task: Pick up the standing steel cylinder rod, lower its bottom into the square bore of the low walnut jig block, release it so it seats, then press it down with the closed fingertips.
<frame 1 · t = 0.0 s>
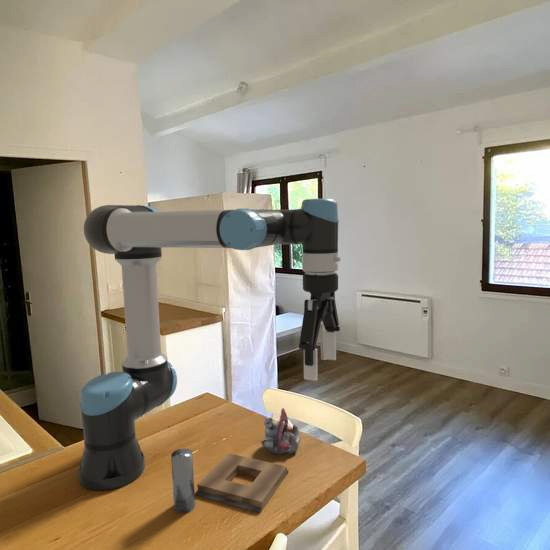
hand: (320, 368, 95), 28 cm above the table, fingers open, 13 cm apart
red and grey figurine: (281, 448, 116), on the table
steel cylinder rod: (184, 506, 93), on the table
jig: (243, 483, 101), on the table
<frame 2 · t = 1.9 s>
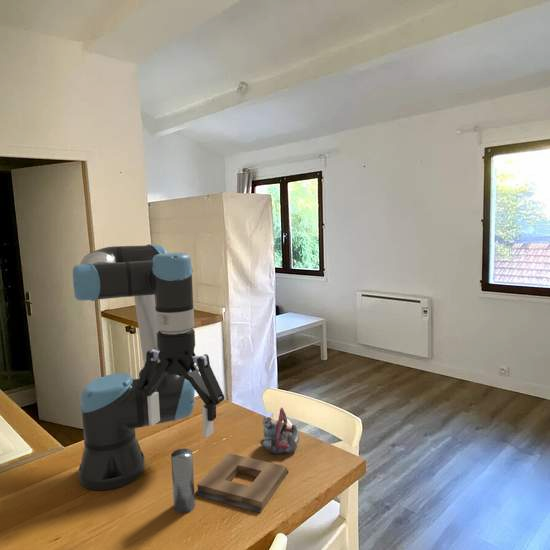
hand: (180, 428, 91), 18 cm above the table, fingers open, 13 cm apart
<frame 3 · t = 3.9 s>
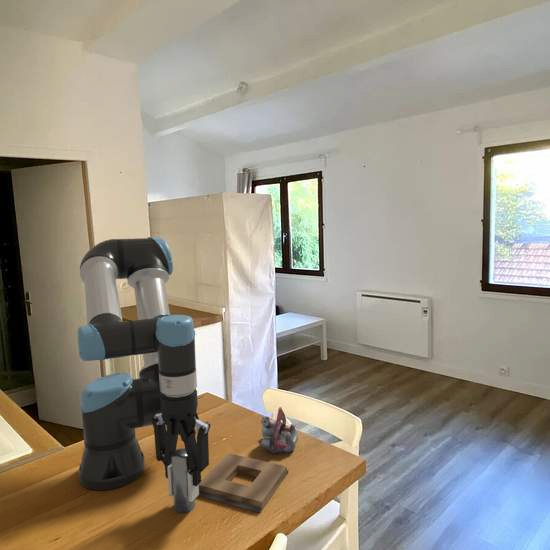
hand: (183, 494, 93), 3 cm above the table, fingers closed on steel cylinder rod, 4 cm apart
steel cylinder rod: (184, 506, 93), on the table, touching gripper
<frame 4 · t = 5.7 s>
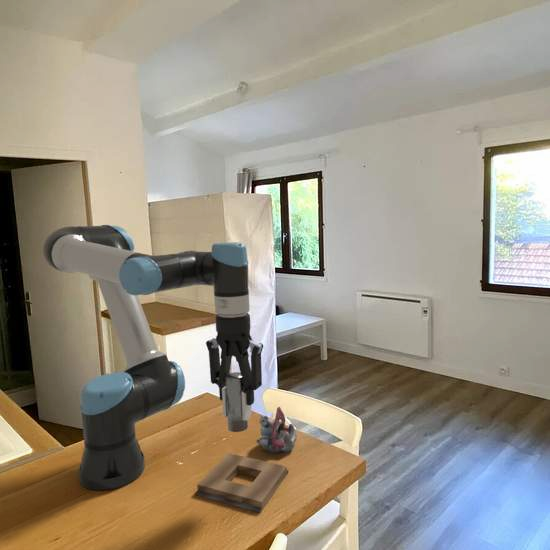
hand: (237, 415, 97), 17 cm above the table, fingers closed on steel cylinder rod, 4 cm apart
steel cylinder rod: (237, 427, 97), point 15 cm above the table, touching gripper
when the fingers open (4 cm above the table, at t = 7.6 s): steel cylinder rod drops 1 cm, resting in jig.
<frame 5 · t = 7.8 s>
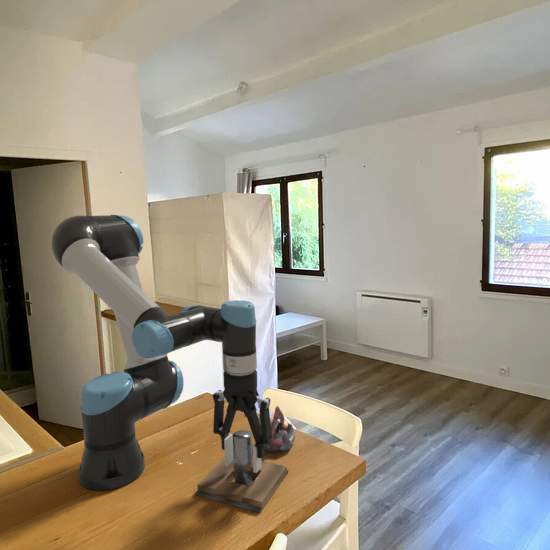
hand: (243, 465, 100), 4 cm above the table, fingers open, 7 cm apart
steel cylinder rod: (243, 483, 101), resting in jig
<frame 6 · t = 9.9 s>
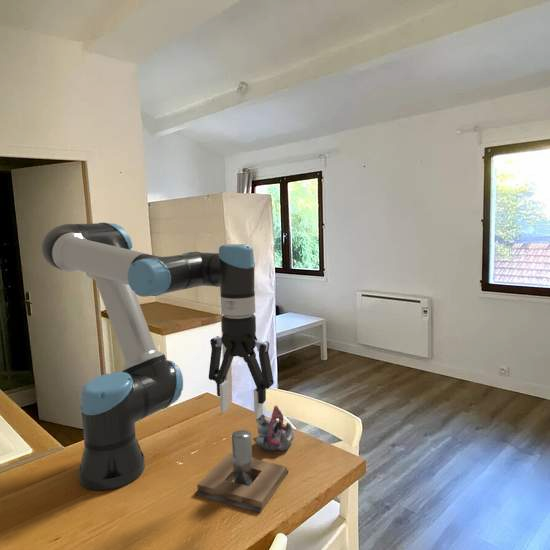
hand: (241, 412, 98), 17 cm above the table, fingers open, 8 cm apart
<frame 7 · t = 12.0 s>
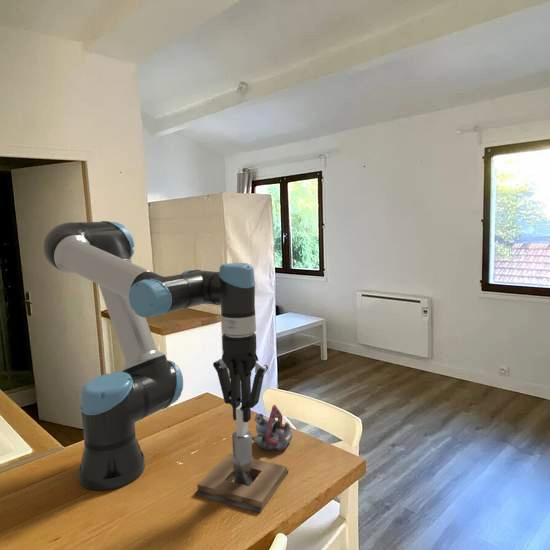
hand: (242, 433, 99), 12 cm above the table, fingers closed
steel cylinder rod: (243, 483, 101), resting in jig, touching gripper
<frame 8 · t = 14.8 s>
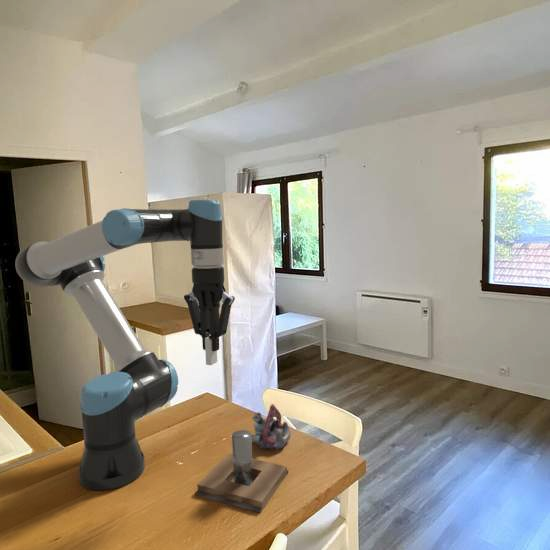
hand: (211, 363, 105), 26 cm above the table, fingers closed
steel cylinder rod: (243, 483, 101), resting in jig
at the end: steel cylinder rod 0.1 cm off-centre on the jig, point 0.0 cm above the jig's base; steel cylinder rod tilted 0°; the gripper is holding nothing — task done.
